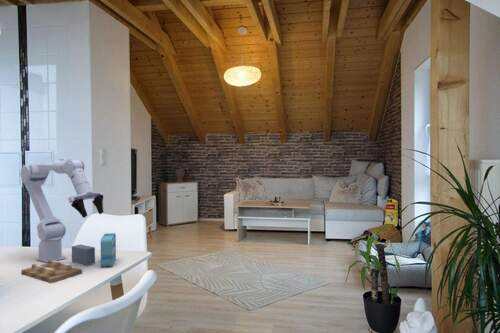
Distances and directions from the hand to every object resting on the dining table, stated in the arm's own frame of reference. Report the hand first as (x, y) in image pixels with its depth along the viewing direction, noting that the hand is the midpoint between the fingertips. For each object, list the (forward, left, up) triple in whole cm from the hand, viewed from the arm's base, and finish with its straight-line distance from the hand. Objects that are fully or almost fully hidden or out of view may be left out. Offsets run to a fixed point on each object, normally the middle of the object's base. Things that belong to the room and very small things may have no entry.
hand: (93, 214), depth 142 cm
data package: (+1, +7, -22) cm, 23 cm away
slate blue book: (-9, +2, -22) cm, 24 cm away
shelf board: (-7, -13, -22) cm, 27 cm away
